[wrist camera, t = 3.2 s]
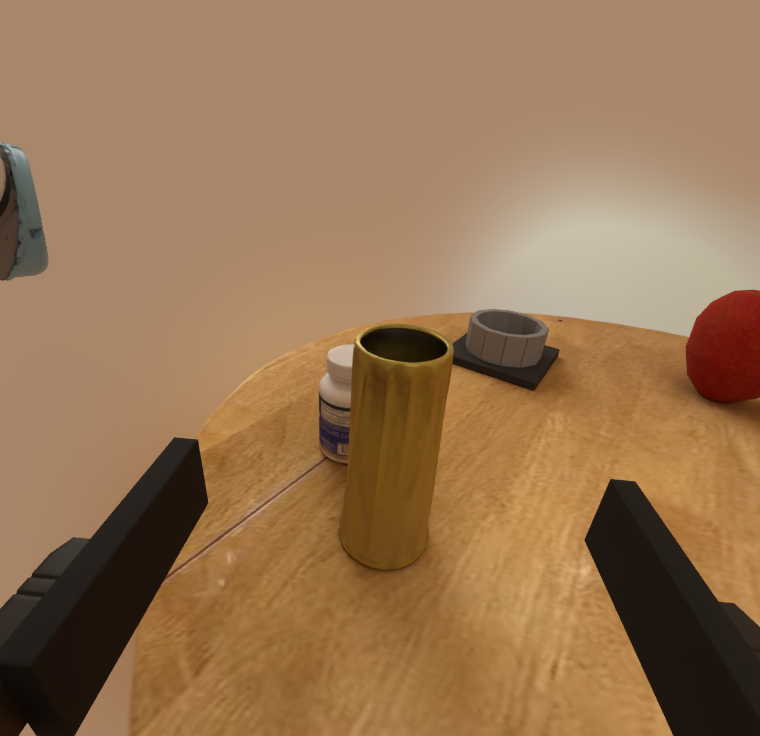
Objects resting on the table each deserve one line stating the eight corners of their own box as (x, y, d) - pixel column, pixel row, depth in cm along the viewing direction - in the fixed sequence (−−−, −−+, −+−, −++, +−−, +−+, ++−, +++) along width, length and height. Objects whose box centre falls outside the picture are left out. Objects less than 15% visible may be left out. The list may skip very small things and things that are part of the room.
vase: (326, 559, 26) (330, 356, 19) (351, 491, 31) (361, 314, 25) (422, 582, 25) (461, 377, 19) (431, 507, 31) (464, 328, 24)
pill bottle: (340, 421, 39) (342, 335, 35) (389, 439, 37) (398, 351, 33) (306, 451, 35) (305, 358, 31) (360, 474, 33) (366, 377, 29)
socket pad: (439, 359, 53) (445, 322, 51) (475, 332, 62) (481, 300, 60) (533, 390, 47) (545, 351, 45) (557, 355, 56) (568, 321, 54)
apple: (791, 427, 44) (872, 303, 38) (688, 410, 46) (750, 288, 39) (739, 381, 53) (797, 275, 47) (655, 369, 55) (700, 264, 48)
